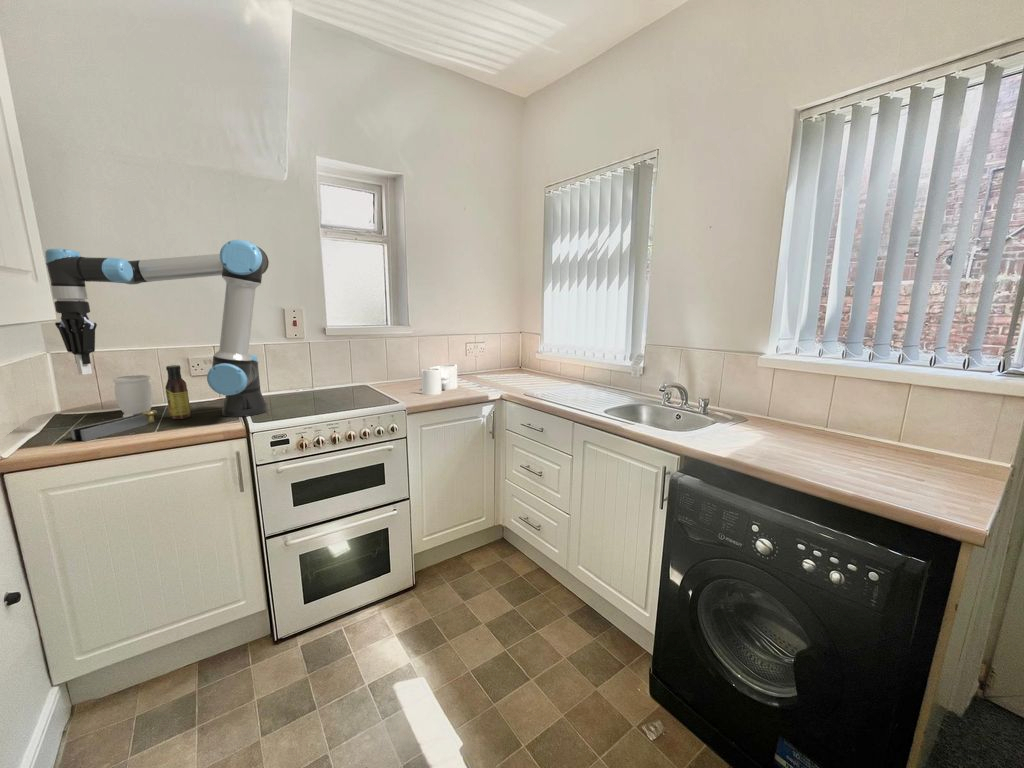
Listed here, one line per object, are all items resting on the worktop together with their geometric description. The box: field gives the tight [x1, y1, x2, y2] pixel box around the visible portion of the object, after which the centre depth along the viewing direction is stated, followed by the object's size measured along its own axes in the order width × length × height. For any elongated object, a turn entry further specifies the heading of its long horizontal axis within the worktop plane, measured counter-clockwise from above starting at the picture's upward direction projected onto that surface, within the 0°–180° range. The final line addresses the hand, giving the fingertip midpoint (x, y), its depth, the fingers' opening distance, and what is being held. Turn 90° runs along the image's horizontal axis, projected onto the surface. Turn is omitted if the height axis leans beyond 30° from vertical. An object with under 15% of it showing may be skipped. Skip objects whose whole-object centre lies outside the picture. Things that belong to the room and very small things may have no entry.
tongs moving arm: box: [70, 409, 158, 441], centre depth 140 cm, size 24×4×4 cm, turn 166°
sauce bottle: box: [165, 364, 192, 420], centre depth 154 cm, size 6×6×20 cm
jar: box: [112, 374, 154, 418], centre depth 156 cm, size 11×10×15 cm
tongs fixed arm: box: [80, 414, 155, 442], centre depth 139 cm, size 22×3×4 cm, turn 171°
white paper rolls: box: [420, 363, 459, 396], centre depth 210 cm, size 25×10×12 cm, turn 160°
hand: (85, 373), depth 135 cm, fingers closed
